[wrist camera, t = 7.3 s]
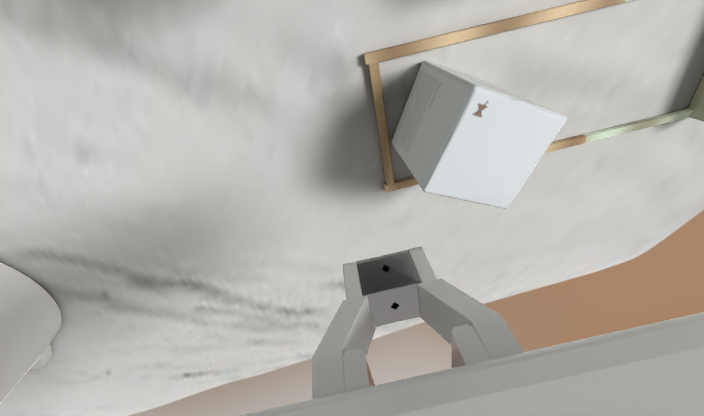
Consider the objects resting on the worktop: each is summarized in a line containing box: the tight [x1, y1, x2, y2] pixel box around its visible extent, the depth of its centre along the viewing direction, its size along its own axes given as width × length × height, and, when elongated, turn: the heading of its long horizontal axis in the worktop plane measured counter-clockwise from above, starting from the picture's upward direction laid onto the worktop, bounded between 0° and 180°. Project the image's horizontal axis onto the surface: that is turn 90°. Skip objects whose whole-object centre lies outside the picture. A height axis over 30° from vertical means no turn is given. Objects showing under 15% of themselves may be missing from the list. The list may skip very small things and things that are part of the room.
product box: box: [391, 61, 567, 209], centre depth 19 cm, size 6×6×7 cm
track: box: [364, 0, 704, 192], centre depth 21 cm, size 27×10×2 cm, turn 102°
